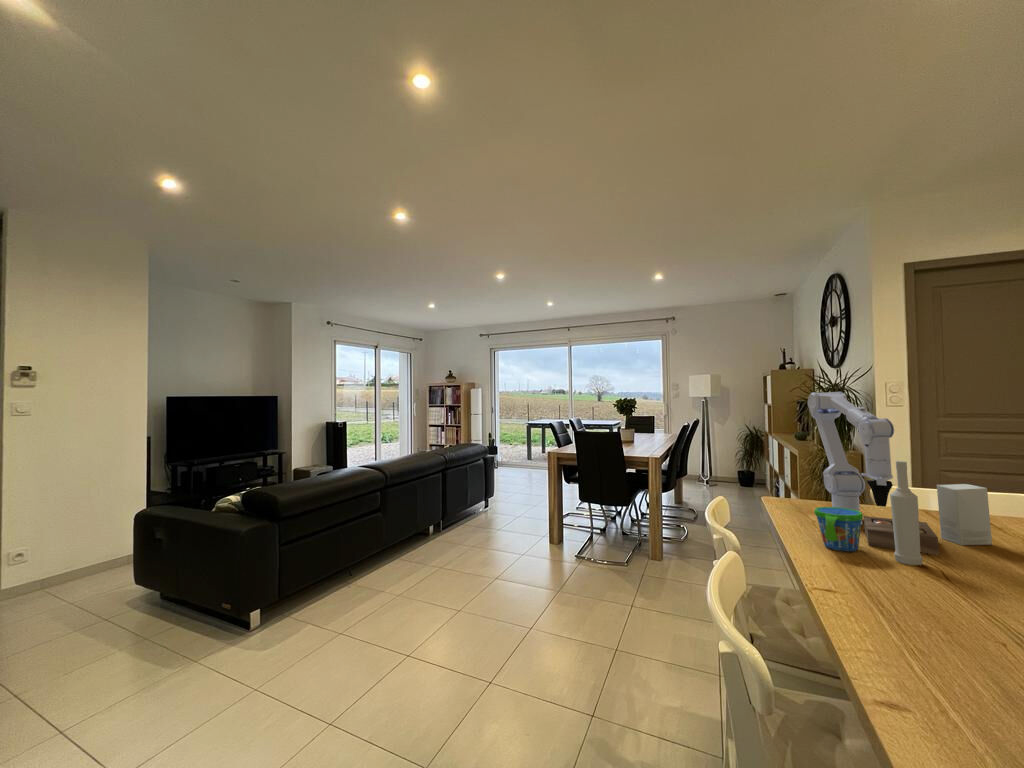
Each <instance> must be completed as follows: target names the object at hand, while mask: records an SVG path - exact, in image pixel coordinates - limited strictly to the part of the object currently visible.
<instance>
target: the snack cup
mask: <svg viewBox="0 0 1024 768" xmlns="http://www.w3.org/2000/svg"><path fill="white" fill-rule="evenodd" d="M813 513H814V515H815V516H816V519H817V523H818V526H819V530H820V533H821V537H822V542H823V546H825V548H828V549H831V550H836V551H841V552H855V551H857V550H858V549H859V547H860V546H859V544H860V536H861V526H862V525H860V523H861V520H862V521H863V519H864V517H863V516H864V515H863V512H861V511H860V512H859V511H856V510H852V509H847V508H838V507H832V506H819V507H815V508H814V511H813Z"/></svg>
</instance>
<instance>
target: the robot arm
mask: <svg viewBox="0 0 1024 768" xmlns="http://www.w3.org/2000/svg"><path fill="white" fill-rule="evenodd" d="M807 407H808V410H809V413H810V416H811V418H813V419H815V424H816V426H817V428H818V432H819V436H820V439H821V441H822V445H823V447H824V451H825V455H826V457H827V461H828V465H829V466H828V467H826V468H825V469H824V470H823V472H822V475H823V485H824V488H825V489H826V491H827V492H828V493H830V494H831V505H832V506H831V507H838V508H847V509H852V510H856V511H859V512H861V511H860V510H861V509H860V496H862V493H863V492H865V489H866V484H868V486H869V487H870V489H871V493H872V495H873V499H874V503H875V505H876V507H887V504H888V499H889V495H890V494H889V493H890V491H891V489H892V488H893V485H894V484H893V482H892V481H891V479H893V478H894V476H893V474H892V473H893V472H892V462H891V458H892V457H891V446H890V445H891V444H890V439H891V438H892V437H893V436H894V434H895V427H894V424H893V422H892V421H891V420H890V419H888V418H887V417H886V418H879V417H878V416H876V415H875V414H872V413H871V412H870V411H868V410H867V409H866V407H863V406H855V405H854V404H852V403H851V402H850V401H848V398H847V395H846V394H845V393H843V392H842V391H831V392H829V391H828V392H811V393H810V394H809V395H808V399H807ZM841 414H843V415H844V416H845V418H846V421H848V422H849V423H850V424H851V425H852V426H854V427H855V428H857V430H858V433H859V435H860V438H861V442H862V444H864V458H865V459H864V460H865V472H861V473H860V470H859V469H858V468H856V467H855V466H853V465H851V464H850V463H849V461H848V459H847V456H846V453H845V450H844V447H843V444H842V442H841V441H842V440H841V438H840V435H839V432H838V429H837V426H836V422H835V419H837V418H839V417H840V416H841ZM863 477H866V478H869V479H872V480H866V482H865V479H864V478H863ZM860 525H861V526H864V522H863V519H862V520H861V523H860Z"/></svg>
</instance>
